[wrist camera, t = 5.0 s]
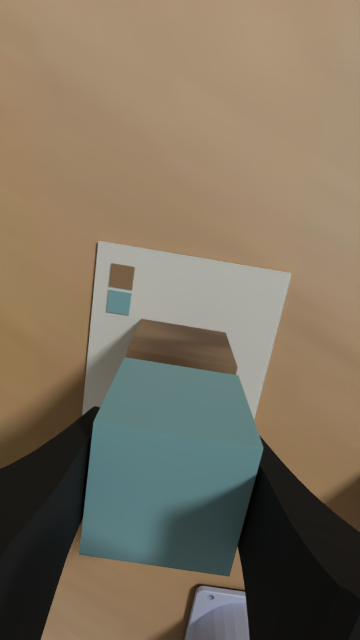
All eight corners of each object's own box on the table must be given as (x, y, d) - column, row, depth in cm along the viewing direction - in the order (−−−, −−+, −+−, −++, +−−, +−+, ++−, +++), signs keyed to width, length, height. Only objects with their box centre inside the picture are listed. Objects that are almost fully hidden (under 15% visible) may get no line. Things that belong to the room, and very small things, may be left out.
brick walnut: (225, 332, 18) (237, 367, 14) (209, 406, 20) (216, 460, 15) (141, 318, 18) (126, 349, 14) (131, 394, 20) (114, 444, 15)
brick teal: (238, 375, 14) (263, 448, 9) (216, 471, 15) (229, 576, 10) (124, 357, 13) (93, 421, 9) (111, 455, 15) (79, 554, 10)
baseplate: (290, 272, 18) (292, 273, 17) (241, 464, 21) (242, 467, 21) (99, 240, 17) (97, 240, 17) (80, 439, 21) (79, 442, 20)
